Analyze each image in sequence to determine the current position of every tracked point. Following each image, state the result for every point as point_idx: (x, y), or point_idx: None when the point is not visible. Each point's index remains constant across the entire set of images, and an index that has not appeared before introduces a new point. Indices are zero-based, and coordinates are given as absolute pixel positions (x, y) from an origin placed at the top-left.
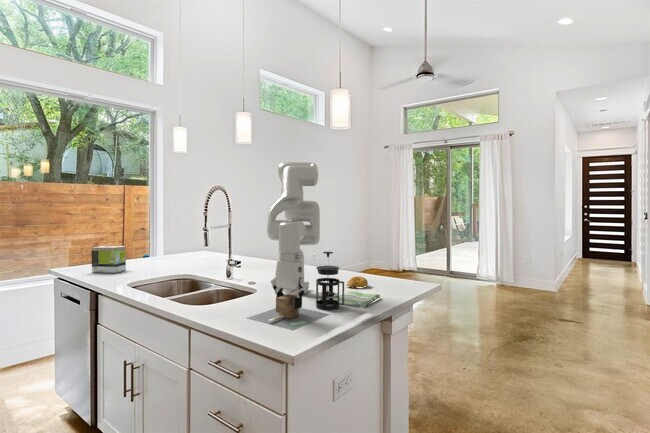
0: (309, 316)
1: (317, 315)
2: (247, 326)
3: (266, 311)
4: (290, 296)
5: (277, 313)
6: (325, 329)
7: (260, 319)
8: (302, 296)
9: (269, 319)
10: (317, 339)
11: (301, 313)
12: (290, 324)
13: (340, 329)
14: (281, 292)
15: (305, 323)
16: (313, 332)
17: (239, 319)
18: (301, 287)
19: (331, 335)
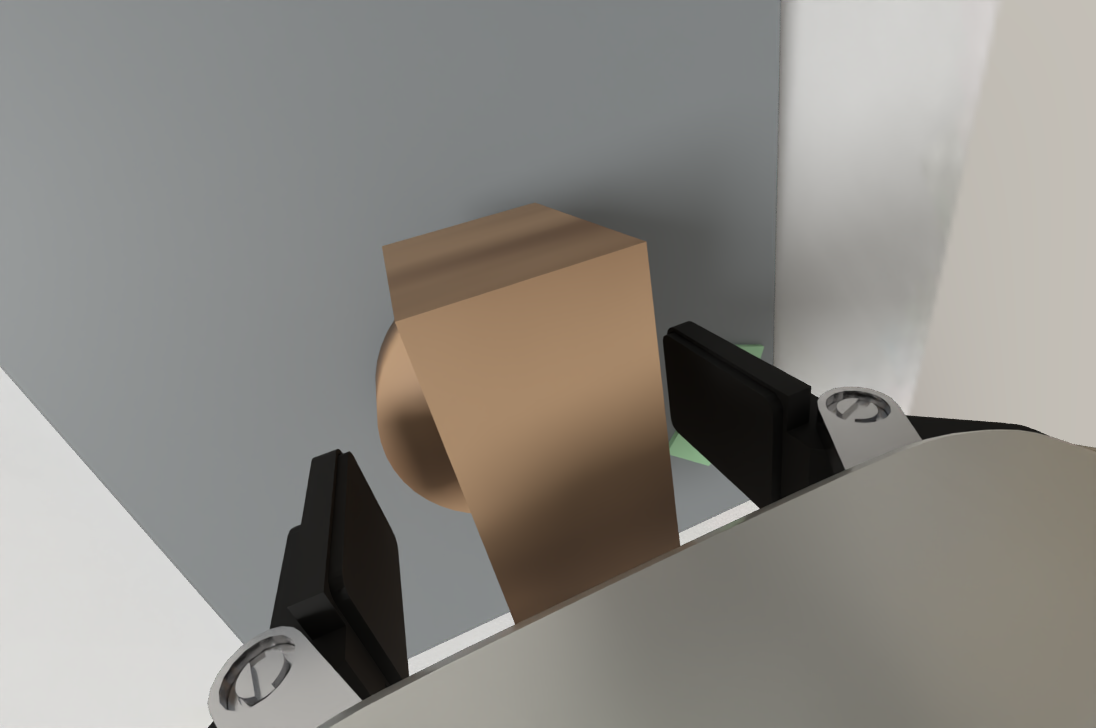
0: (656, 190)
1: (696, 77)
2: (410, 668)
3: (141, 517)
4: (641, 534)
5: (319, 437)
6: (855, 229)
7: (417, 620)
8: (846, 405)
9: (467, 560)
10: (886, 386)
11: (503, 189)
12: (683, 461)
13: (944, 127)
14: (353, 650)
15: (757, 356)
16: (818, 342)
17: (171, 710)
18: (941, 454)
19: (929, 276)
